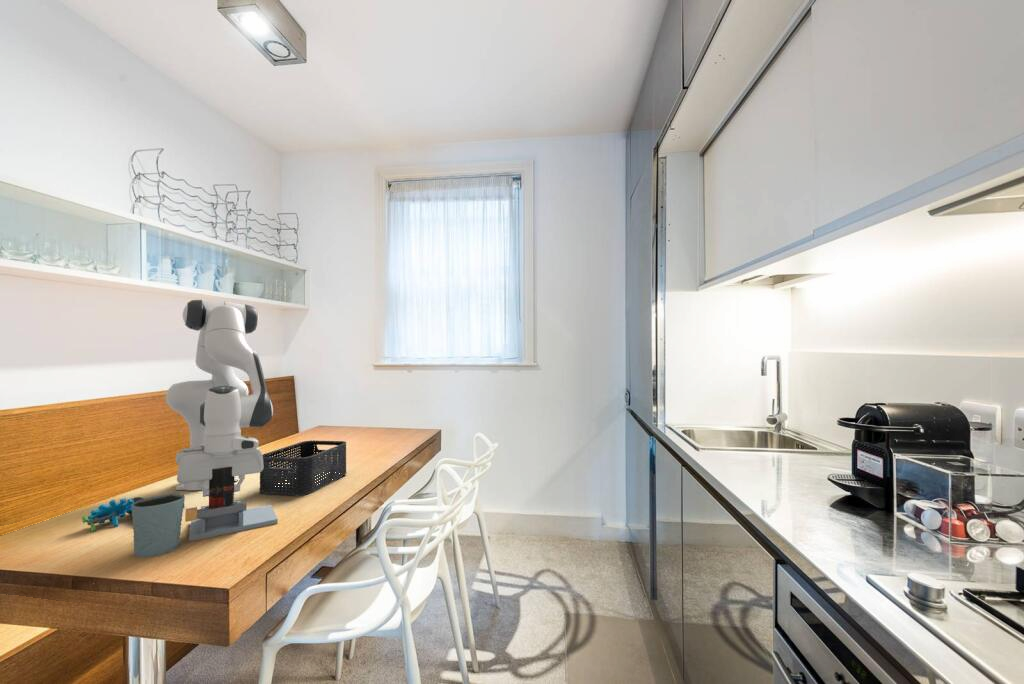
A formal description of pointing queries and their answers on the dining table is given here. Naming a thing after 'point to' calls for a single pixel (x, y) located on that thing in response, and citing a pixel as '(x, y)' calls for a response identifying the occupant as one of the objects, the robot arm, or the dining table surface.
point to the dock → (232, 522)
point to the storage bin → (302, 468)
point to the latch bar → (213, 511)
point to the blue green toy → (108, 513)
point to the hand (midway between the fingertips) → (221, 493)
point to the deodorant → (221, 487)
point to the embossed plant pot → (157, 524)
